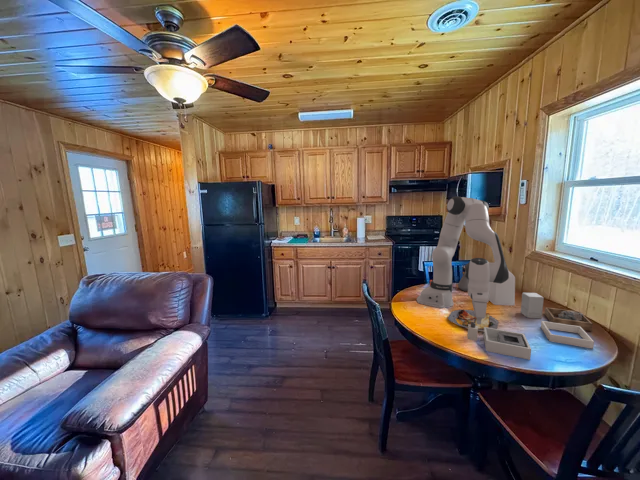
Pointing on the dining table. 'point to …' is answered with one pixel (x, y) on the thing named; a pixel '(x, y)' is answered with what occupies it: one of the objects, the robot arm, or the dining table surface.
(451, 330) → the dining table surface
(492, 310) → the dining table surface
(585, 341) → the open square frame
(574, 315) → the mineral specimen
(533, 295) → the supplement box
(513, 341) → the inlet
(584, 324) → the stand rim
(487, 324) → the food plate
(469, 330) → the connector
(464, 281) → the coffee pot
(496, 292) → the milk
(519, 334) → the walled box
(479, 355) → the dining table surface
